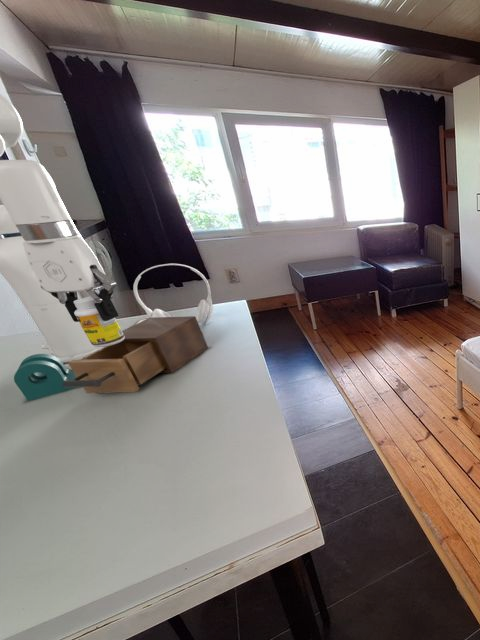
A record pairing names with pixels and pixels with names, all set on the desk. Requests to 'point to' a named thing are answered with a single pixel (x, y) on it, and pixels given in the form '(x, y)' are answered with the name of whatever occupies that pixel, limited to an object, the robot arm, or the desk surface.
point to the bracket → (42, 376)
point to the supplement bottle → (97, 324)
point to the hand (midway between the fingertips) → (96, 318)
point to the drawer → (117, 367)
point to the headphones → (201, 316)
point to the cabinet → (170, 339)
